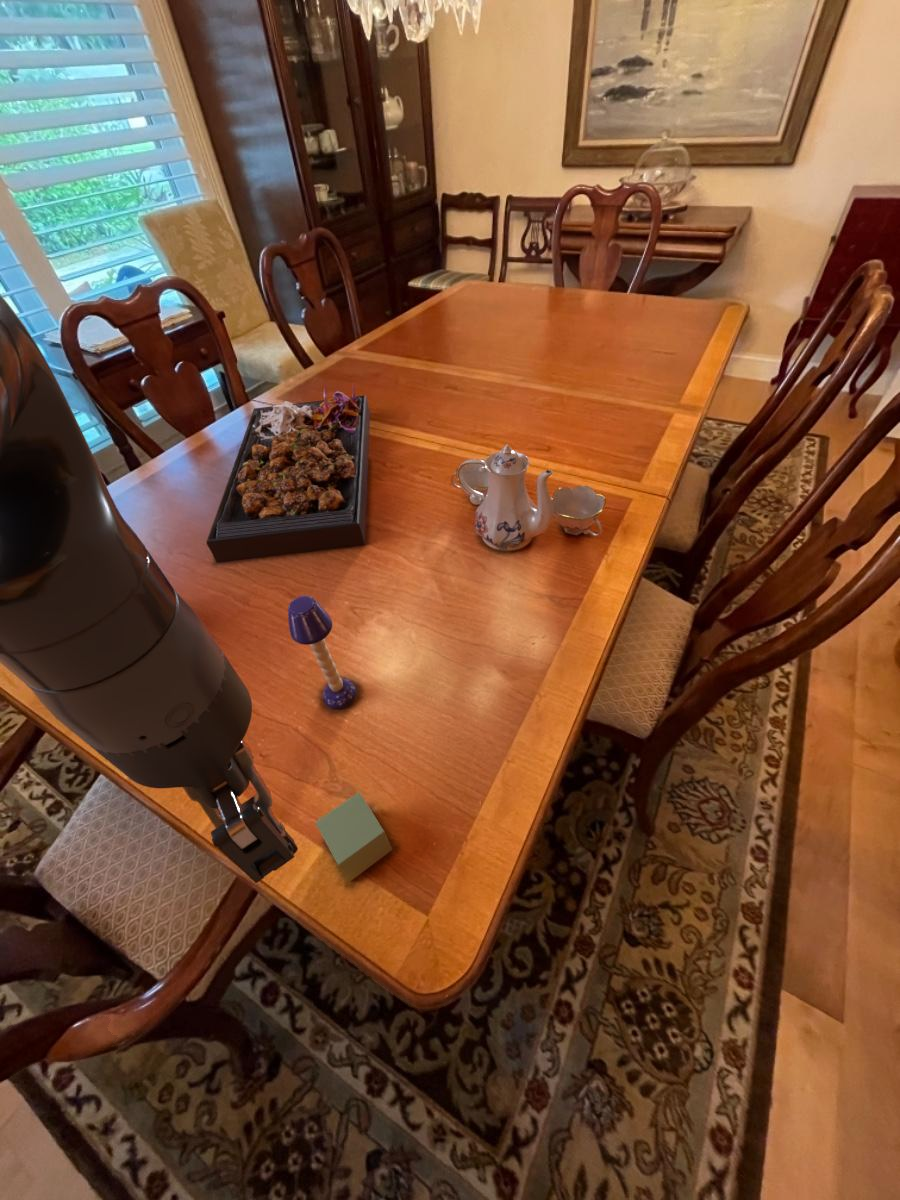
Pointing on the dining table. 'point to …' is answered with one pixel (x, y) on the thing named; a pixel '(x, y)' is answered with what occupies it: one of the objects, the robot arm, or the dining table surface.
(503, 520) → the chinaware
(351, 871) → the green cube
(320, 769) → the dining table surface
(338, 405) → the food platter
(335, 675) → the toy lamp
